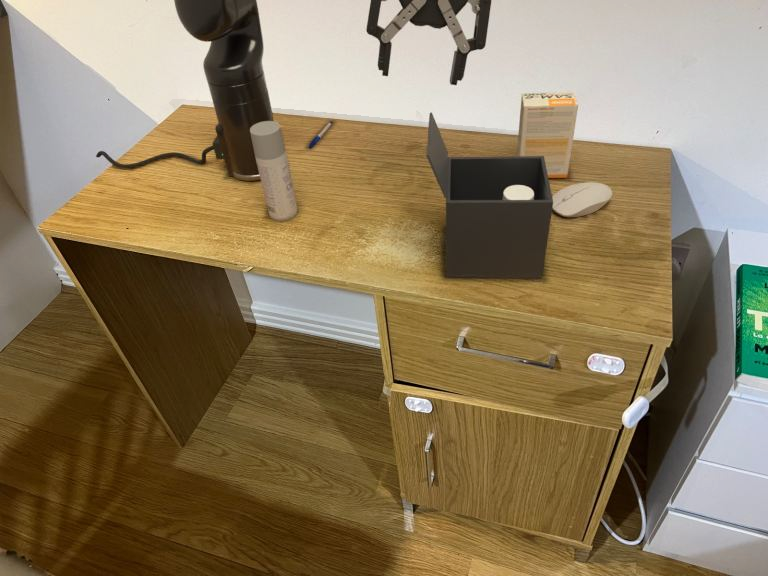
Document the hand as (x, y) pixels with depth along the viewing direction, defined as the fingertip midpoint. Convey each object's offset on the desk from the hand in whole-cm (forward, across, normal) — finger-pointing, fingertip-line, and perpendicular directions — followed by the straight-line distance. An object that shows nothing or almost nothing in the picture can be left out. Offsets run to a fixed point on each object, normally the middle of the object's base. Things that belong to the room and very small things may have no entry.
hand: (419, 79), depth 73 cm
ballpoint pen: (+20, -14, +38) cm, 45 cm away
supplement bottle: (+22, +17, 0) cm, 27 cm away
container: (+26, -18, +13) cm, 34 cm away
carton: (+22, +14, 0) cm, 26 cm away
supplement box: (+16, +24, +20) cm, 35 cm away
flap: (+8, +4, -3) cm, 9 cm away
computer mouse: (+18, +29, +10) cm, 35 cm away
